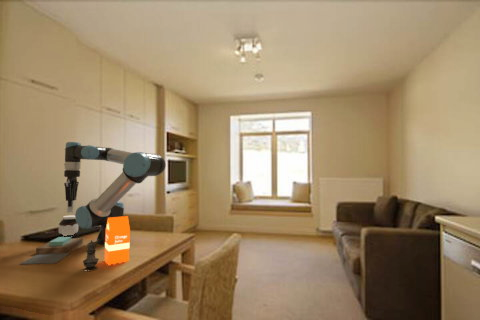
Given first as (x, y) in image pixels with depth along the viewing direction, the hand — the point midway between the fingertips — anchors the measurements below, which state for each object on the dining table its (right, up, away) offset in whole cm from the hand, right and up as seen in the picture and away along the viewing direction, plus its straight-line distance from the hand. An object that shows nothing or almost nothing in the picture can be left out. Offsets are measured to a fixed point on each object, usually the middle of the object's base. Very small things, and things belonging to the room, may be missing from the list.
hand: (70, 212), depth 152 cm
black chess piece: (+32, -17, -38) cm, 52 cm away
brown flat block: (+2, -17, -11) cm, 20 cm away
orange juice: (+38, -17, -27) cm, 50 cm away
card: (+2, -13, -11) cm, 17 cm away
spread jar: (-11, -18, +17) cm, 27 cm away
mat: (+5, -16, -26) cm, 31 cm away
